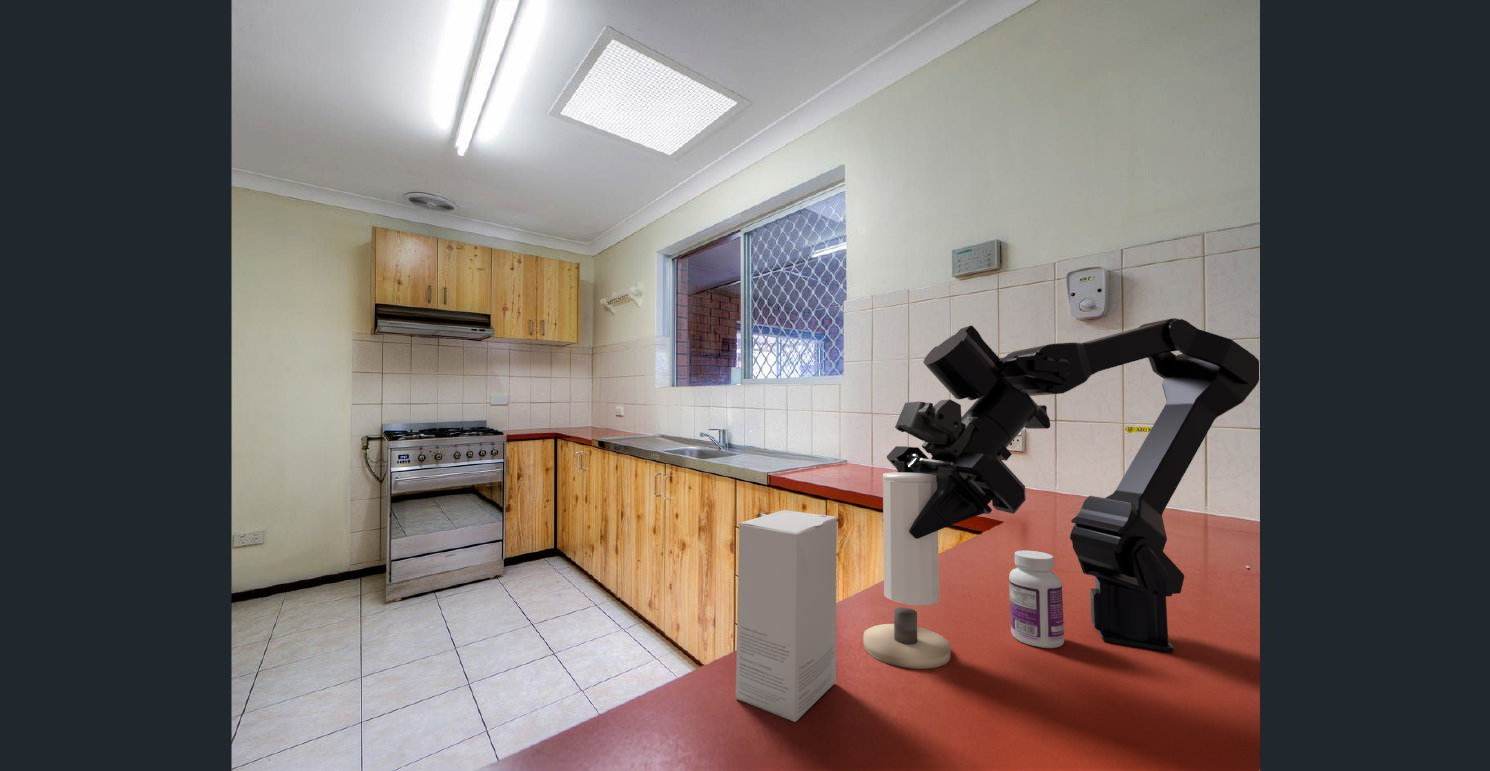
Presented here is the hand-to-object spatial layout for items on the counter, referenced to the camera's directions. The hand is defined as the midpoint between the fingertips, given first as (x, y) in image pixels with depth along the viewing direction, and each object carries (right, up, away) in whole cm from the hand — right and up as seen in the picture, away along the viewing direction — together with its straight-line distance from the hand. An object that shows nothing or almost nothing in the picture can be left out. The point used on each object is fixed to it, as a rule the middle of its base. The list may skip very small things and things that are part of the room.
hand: (898, 529), depth 56 cm
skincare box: (-13, -12, -9) cm, 20 cm away
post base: (+1, -13, 0) cm, 13 cm away
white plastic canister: (+1, -7, 0) cm, 7 cm away
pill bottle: (+17, -14, +3) cm, 22 cm away
